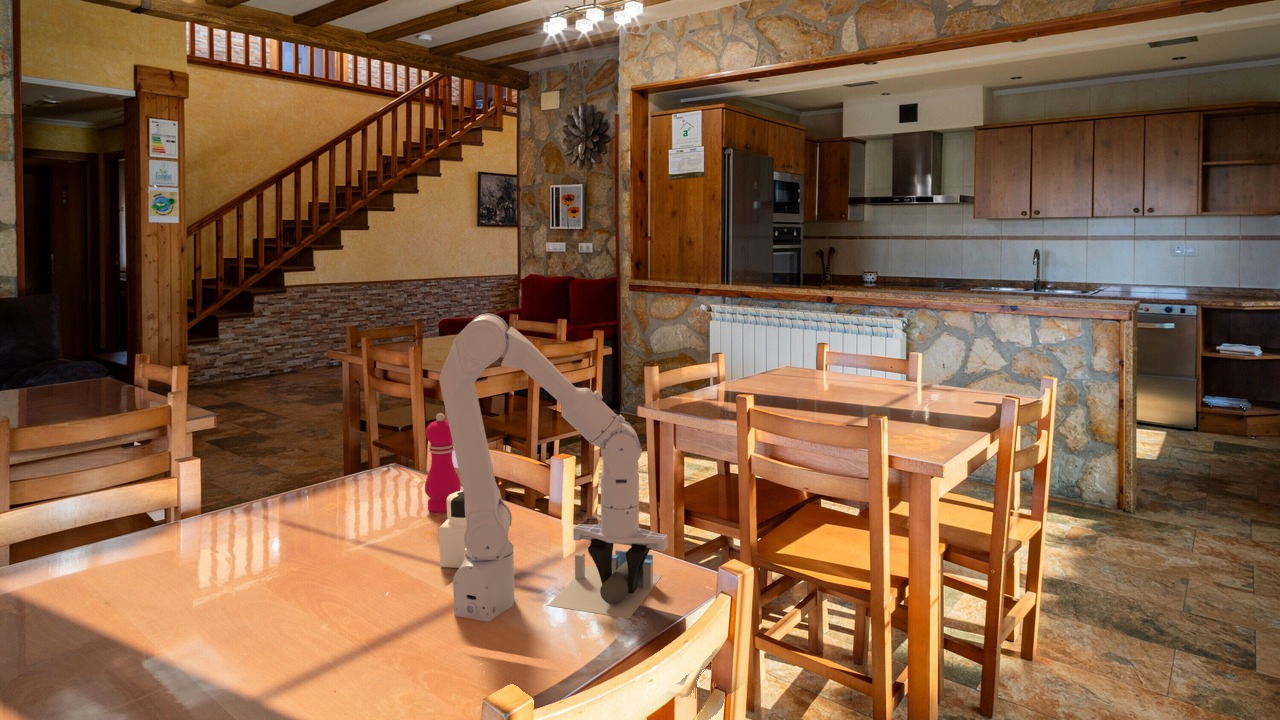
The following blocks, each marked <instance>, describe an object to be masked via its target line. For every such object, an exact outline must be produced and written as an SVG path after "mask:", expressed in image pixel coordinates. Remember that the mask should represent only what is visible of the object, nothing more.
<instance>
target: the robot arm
mask: <svg viewBox="0 0 1280 720" xmlns="http://www.w3.org/2000/svg"><path fill="white" fill-rule="evenodd" d="M500 358H502V361H501V364H500V366H501V367H506V368H507V367H509V368H515V369H521V370H522V371H523V372H525V374H527V375H528V376H529V377H530V378H531V379H532V380H533V381H535V382H536V383H537V384H538V385H539V386H540V387H542V388H543V389H544V390H545V391H546V392H547V393H549V395H550V396H552V398H554V399H555V400H556V401H558V403H560V404H561V405H560V406H561V407H560V409H561V417H562V418H563V419H564V420H565V421H566V422H568V424H570V426H571V427H573V428H574V429H575V430H576V431H577V432H578V433H579V434H580V435H581V436H582V437H583V439H585V440H586V441H588V442H589V444H590V445H593V446H594V447H595V446H596V447H598V448H600V455H601V457H602V472H601V473H600V524H585V523H584V524H581V523H577V525H576V526H574V527H573V530H572V531H573V534H572V535H573V540H574V541H581V540H586V541H590V545H589V546H587V552H588V554H589V556H590V557H591V559H592V561H593V562H594V564H595V565H594V566H595V567H597V569H598V572H599V575H600V579H601V582H602V584H603V583H604V582H605V581H606V580H607V579H608V578H609V577H610V576H611V575H612V555H613V551H614V544H616V545H622V546H623V545H624V546H630V548H629V549H628V550H626V551H627V552H626V559H627V565H628V593H631V594H633V593H634V592H635V591H636V589H637V584H638V579H639V575H640V572H641V569H642V566H643V563H644V561H645V559H646V557H647V554H649V553H650V551H651V549H654V550H655V549H656V550H657V551H658V552H665V550H667V548H668V541H669V540H668V539H669V537H668V536H669V534H664V533H663V534H662V533H658V532H655V531H651V530H648V529H644V528H641V527H639V526H640V474H639V472H638V469H639V460H640V458H641V456H642V452H643V451H642V450H643V449H642V448H641V443H640V439H639V437H638V434H637V432H636V431H635V429H634V428H633V427H632V424H631V423H630V422H628V421H626V418H625V417H624V416H623V415H622V414H619V415H618V414H616V413H615V412H614V411H613V410H612V409H611V408H610V406H608V405H607V404H606V403H605V402H604V401H603V400H602V399H603V398H604V397H603V394H602V393H600V391H598V390H594V392H593V390H592V389H590V388H589V387H576V386H575V385H574V384H572V382H571V381H570V380H569V379H568V378H567V377H566V376H565V375H564V374H562V372H561V371H560V370H559V369H558V368H557V367H556V366H555V365H554V364H553V363H552V362H551V361H550V360H549V359H548V358H547V357H546V356H545V354H543V353H542V352H541V350H539V349H538V347H536V346H535V345H534V343H532V342H531V341H530V340H529V339H528V338H527V337H526V336H524V335H523V334H522V333H521V332H519V330H517V329H516V328H514V327H513V326H510V327H509V326H508V324H507V323H506V321H505V320H504V319H503V318H502V317H500V316H499V315H497V314H494V313H483V314H480V315H478V316H475V317H474V318H473V319H472V320H471V321H470V322H469V323H468V324H467V325H466V326H465V327H464V328H463V329H462V330H460V332H459V333H458V335H456V336H455V338H454V339H453V342H452V345H451V347H450V350H449V352H448V354H447V357H446V358H445V359H446V360H445V362H444V364H443V367H442V368H441V371H440V374H439V377H438V379H439V386H440V390H441V394H442V399H443V404H444V409H445V413H446V417H447V421H448V423H449V427H450V432H451V436H452V443H453V445H454V446H453V448H454V450H453V451H454V454H455V457H456V464H457V468H458V471H459V476H460V482H461V484H462V485H461V486H462V489H463V490H462V491H464V495H465V517H466V522H467V526H466V530H465V534H464V543H465V555H464V561H463V564H462V565H461V567H460V568H457V570H456V572H455V574H454V576H453V579H452V580H453V581H452V584H453V585H452V586H453V610H454V612H453V613H454V614H453V616H454V617H460V618H465V619H471V620H476V621H477V620H478V621H482V622H492V621H493V620H494V619H496V617H497V616H499V615H500V614H501V613H503V612H505V611H507V610H509V609H510V608H512V607H513V606H514V604H515V603H516V602H515V567H514V566H515V563H514V562H515V561H514V559H515V558H514V557H515V555H514V554H515V553H514V544H513V543H512V542H511V541H510V539H509V531H510V527H511V526H512V520H513V516H512V512H511V509H510V508H509V506H508V505H506V503H505V502H504V500H503V497H502V495H501V490H500V488H499V486H498V484H497V482H496V478H495V472H494V469H493V468H494V467H493V463H492V458H491V453H490V450H489V444H488V440H487V435H486V430H485V426H484V421H483V416H482V411H481V407H480V401H479V399H478V393H477V388H476V384H475V383H476V381H477V380H478V379H479V377H480V376H481V375H482V373H483V371H485V369H487V367H489V366H490V365H492V364H493V363H495V362H496V361H497V360H499V359H500Z"/></svg>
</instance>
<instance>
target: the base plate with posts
mask: <svg viewBox="0 0 1280 720" xmlns="http://www.w3.org/2000/svg"><path fill="white" fill-rule="evenodd" d="M627 551H628V550H621V549H616V550H615V552H614V553H615V554H612V574H613V573H614V572H615V571H616V570H617V569H618V568H619V567H620V566H621V565H622V564H623V563H624V562H625V561H626V560H627V559H626V552H627ZM642 567H643V575H642V577H641V578H640V579H639V581H638V584H637V589H636V591H635V592H634V593H633V594H631V593H627V594H626V595H625V597H624V598H623V599H622V600H621V601H620V602H619V603H617V604H609V603H607V602H605V601H604V600H603V598H602V597H601V594H600V588H601V586H602V582H601V579H600V575H599V572H598V569H597V567H596V565H594V566H593V565H587V566H586V553H584V552H577V553H575V555H574V573H575V574H574V575H575V576H574V578H573V580H571V582H570V583H569V584H568V585H566V586H565V588H563V589H562V590H561V591H560V592H559V593H558V594H557V595H556V596H555V597H554V598H553V599H552V600H551V601H550V602H549V603H548V604H547V605H546V606H548V607H554V608H555V607H556V608H561V609H566V610H572V611H579V612H586V613H592V614H598V615H604V616H605V615H606V616H611V617H616V618H622V619H630V618H631V616H633V615H634V613H635V612H636V611H637V609H638V608H639V606H640V605H641V604H642V603H643V601H644V600H645V599H646V597H647V596H648V595H649V594H650V592H651V591H652V590H653V588H654V587H655V586H656V585H657V583H658V582H659V581H660V579H661V578H663V577H662V576H663V575H658V574H654V554H652V553H648V554H647V557H646V559H645V561H644V563H643V566H642Z"/></svg>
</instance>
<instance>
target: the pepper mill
mask: <svg viewBox="0 0 1280 720" xmlns="http://www.w3.org/2000/svg"><path fill="white" fill-rule="evenodd" d="M435 419H436V420H434V421H432V422H430V423H429V424H428V426H427V427H426V429H425V437H426V440H427V441H428V442H429V445H428V448H429V449H428V452H429V453H430V456H431V462H430V463H431V464H430V468H429V471H428V473H427V477H426V479H425V482H424V492H425V494H426V495H427V497H428V498H429V499H428V500H427V511H429V512H432V513H436V514H437V513H439V514H441V513H442V514H443V513H447V497H448V496H449V495H450V494H453V493H455V492H458V491H461V489H462V487H461V486H462V485H461V479H460V478H459V475H458V473H457V471H456V469H455V466H454V462H453V451H455V450H454V445H453V441H452V436H451V432H450V427H449V423H448V420H445V419H446V416H445V414H444V413H441V412H439V413H437V414H436V416H435Z"/></svg>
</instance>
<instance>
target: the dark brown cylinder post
mask: <svg viewBox="0 0 1280 720" xmlns="http://www.w3.org/2000/svg"><path fill="white" fill-rule="evenodd" d="M642 575H643V567H642V569H641V572H640V575H639V579H640V578H641V577H642ZM639 579H638V581H639ZM627 593H628V565H627V560H626V561H625V562H624V563H623V564H622V565H621V566H620V567H619V568H618V569H617V570H616V571H615V572H614V573H613V574H612V575H611V576H610V577H609V578H608V579H607V580H606V581H605V582H604V583H603V584H602V586H601V588H600V594H601V597H602V598H603V600H604V601H605V602H607V603H609V604H617V603H619V602H620V601H621V600H622V599H623V598H624V597H625V595H626V594H627Z"/></svg>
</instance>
